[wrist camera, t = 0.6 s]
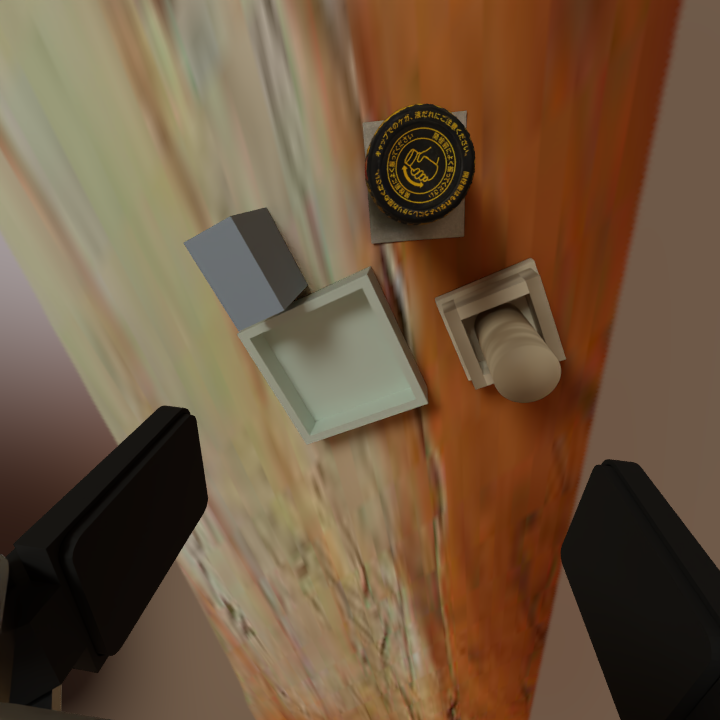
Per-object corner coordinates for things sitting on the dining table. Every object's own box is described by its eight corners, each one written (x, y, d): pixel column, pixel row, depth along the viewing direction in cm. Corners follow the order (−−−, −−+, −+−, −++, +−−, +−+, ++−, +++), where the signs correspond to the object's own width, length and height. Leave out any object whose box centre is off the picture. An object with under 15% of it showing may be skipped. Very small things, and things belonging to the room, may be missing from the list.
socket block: (530, 258, 31) (543, 267, 28) (557, 344, 34) (572, 361, 31) (434, 298, 34) (437, 311, 30) (467, 375, 36) (472, 395, 33)
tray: (370, 266, 33) (366, 274, 30) (427, 386, 37) (428, 403, 35) (249, 322, 37) (237, 334, 34) (313, 426, 41) (306, 444, 38)
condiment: (466, 110, 28) (499, 72, 17) (463, 236, 31) (489, 270, 21) (363, 123, 29) (332, 94, 18) (371, 242, 32) (351, 278, 22)
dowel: (515, 294, 32) (550, 336, 24) (530, 337, 33) (568, 390, 25) (467, 313, 33) (484, 359, 25) (483, 354, 34) (505, 410, 26)
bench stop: (266, 207, 32) (230, 216, 26) (307, 285, 34) (284, 310, 28) (226, 229, 33) (183, 242, 27) (269, 303, 36) (238, 331, 29)
